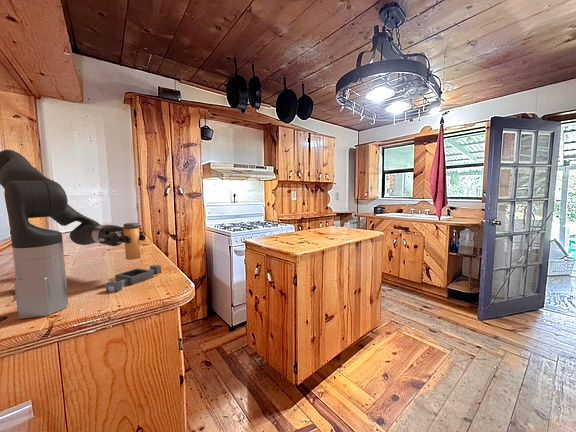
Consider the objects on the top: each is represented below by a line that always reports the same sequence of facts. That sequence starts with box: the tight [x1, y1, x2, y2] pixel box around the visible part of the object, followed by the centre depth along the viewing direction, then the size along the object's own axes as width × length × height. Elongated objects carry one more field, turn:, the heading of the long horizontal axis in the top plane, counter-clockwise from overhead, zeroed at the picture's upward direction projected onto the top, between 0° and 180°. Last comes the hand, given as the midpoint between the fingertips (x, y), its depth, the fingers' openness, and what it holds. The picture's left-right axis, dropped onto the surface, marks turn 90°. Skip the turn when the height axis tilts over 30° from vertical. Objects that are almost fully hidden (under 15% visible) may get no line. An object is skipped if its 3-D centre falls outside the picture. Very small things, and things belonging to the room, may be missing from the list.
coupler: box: [122, 222, 142, 261], centre depth 88 cm, size 4×4×12 cm
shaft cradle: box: [105, 264, 162, 293], centre depth 88 cm, size 20×10×3 cm, turn 157°
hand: (136, 238), depth 87 cm, fingers closed on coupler, 4 cm apart
